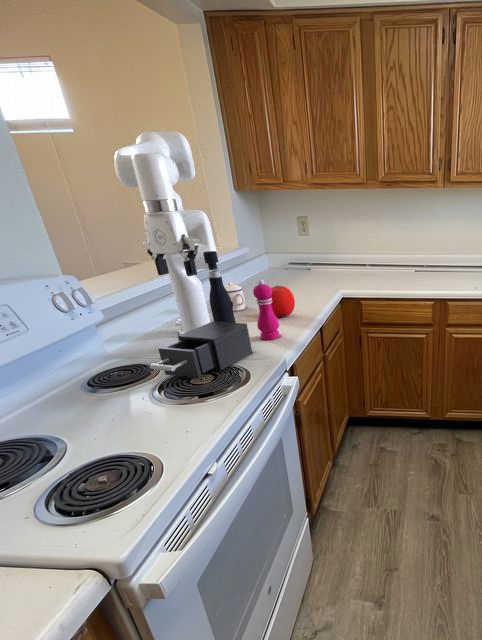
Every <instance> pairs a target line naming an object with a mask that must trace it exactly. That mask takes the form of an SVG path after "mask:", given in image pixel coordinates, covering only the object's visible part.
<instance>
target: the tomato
mask: <svg viewBox="0 0 482 640" xmlns="http://www.w3.org/2000/svg"><path fill="white" fill-rule="evenodd" d="M270 288H271V290H272V295H271V297H270V298H272V303H271V307H272V310H273V313H274V314H275V316H276V317H277V318H283V317H288V316H291V314H292V313H293V312H294V310H295V306H296V305H295V304H296V301H295V296H294V294H293V292H292V291H291V289H289V288H288V287H287V286H284V285H278V284H276V285H275V286H272V287H270Z"/></svg>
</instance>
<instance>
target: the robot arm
mask: <svg viewBox="0 0 482 640" xmlns="http://www.w3.org/2000/svg"><path fill="white" fill-rule="evenodd" d="M192 152H193V151H192V148H191V145H190V143H189V142H188V139H187V138H186V136H185V135H184V134H183V133H181V132H178V131H160V130H159V131H158V130H156V131H155V130H154V131H153V130H152V131H151V130H150V131H144V132H142V133H140V134H139V135H138V136H137V138H136V143H132V144H130V145H127V146H123V147H121V148H119V149H117V150H116V151H115V155H114V161H113V162H114V163H113V165H114V171H115V174H116V177H117V179H118V180H119V182H120V183H121V184H122V185H123V186H125V187H127V188H138V190H139V194H140V197H141V201H142V208H143V209H144V212H145V213H144V214H143V223H144V230H145V236H146V237H145V238H146V241H144V242H143V243H142V244H143V247H144V248H145V250H146V251H147V254H148V255H149V256H150V257H151V260H153V261H154V264H155V267H156V271H157V274H158V276H164V275H168V278H169V281H170V284H171V287H172V291H173V295H174V299H175V303H176V307H177V311H178V314H179V318H178V319H177V320H176V321H175V322H174V324H175V326H179V327H180V329H179V330H178V333H179V335H181V334H184V333H186V332H188V331H191V330H193V329H196V328H198V327H201V326H203V325H205V324H208V323H210V322H211V318H210V314H209V313H210V312H209V309H208V305H207V301H206V296H205V292H204V287H203V284H202V281H201V280H200V278H199V277H198V276H196V275H198V271H199V270H207V269H208V270H209V267H208V264H206V263H205V260H204V255H203V252H208V251H216V252H217V253H218V251H217V247H216V242H215V238H214V234H213V230H212V226H211V221H210V220H209V217H208V215H207V214H206V212H204V211H203V210H201V209H184V206H183V202H182V198H181V196H180V195H179V194H178V193H177V192H176V190H174V187H173V186H175V185H176V184H177V183H178V182H189V181H192V180H194V179H195V176H196V168H195V167H196V166H195V163H194V157H193V153H192ZM217 257H218V258H219V256H218V254H217ZM218 264H219V262H218V263H217V266H218Z"/></svg>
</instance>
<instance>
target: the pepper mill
mask: <svg viewBox="0 0 482 640" xmlns="http://www.w3.org/2000/svg"><path fill="white" fill-rule="evenodd" d="M271 288H272V287H271V286H270V285H268V284H265V281H264V280H263V279H259V280H258V282H257V285H255V286H254V288H253V291H252V293H253V296H254V297H255V298H256V300H255V301H256V305H258V311H259V313H258V318H257V323H256V326H257V329H258V330H259V333H260V335H259V336H260V339H261V340H264V341H271V340H276V339H278V338H279V337H280V331H279V330H278V329H279V328H280V322H279V320H278V319H279V318H278V317H276V316H275V314H274V313H273V310H272V307H271V303H272V298H270V297H271V295H272V290H271Z"/></svg>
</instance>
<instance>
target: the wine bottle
mask: <svg viewBox="0 0 482 640" xmlns="http://www.w3.org/2000/svg"><path fill="white" fill-rule="evenodd" d="M203 255H204V260H205V263H206V264H208V267H209V269H208V270H209V271H208V281H209V285H210V286H209V287H210V288H209V289H210V290H209V306H210V310H211V314H212V321H216V322H230V323H236V318H235V314H234V311H233V308H232V303H231V299H230V297H229V294H228V292H227V291H226V289H225V285H224V281H223V276H221V272H220V270H218V269H219V268H218V265H217V263H218V264H219V256H218V257H217V255H218V251H217V252H216V251H208V252H203Z"/></svg>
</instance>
